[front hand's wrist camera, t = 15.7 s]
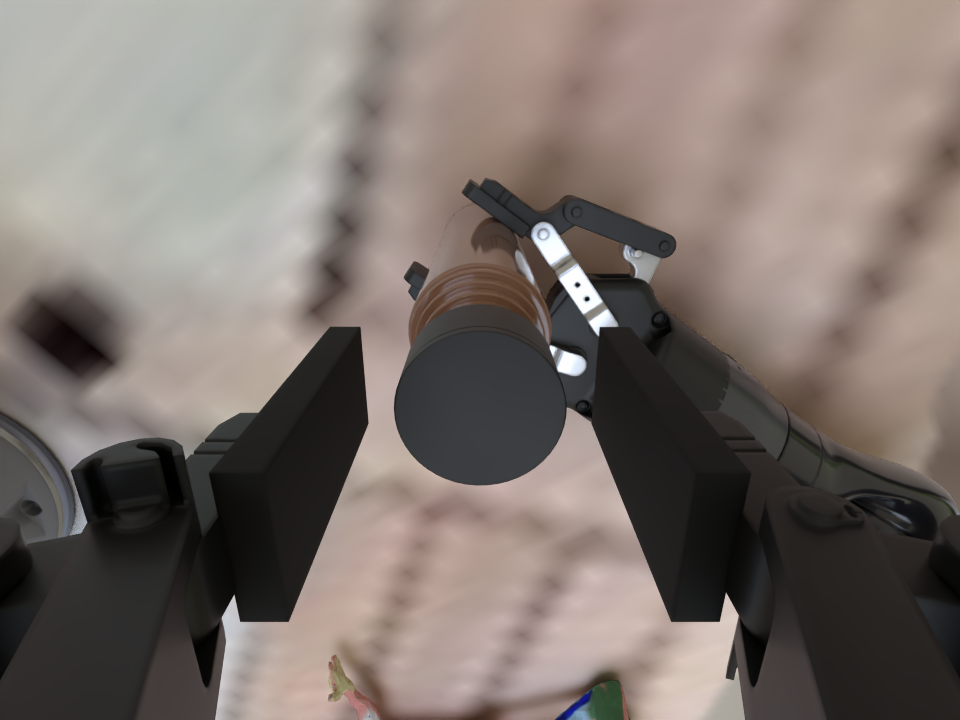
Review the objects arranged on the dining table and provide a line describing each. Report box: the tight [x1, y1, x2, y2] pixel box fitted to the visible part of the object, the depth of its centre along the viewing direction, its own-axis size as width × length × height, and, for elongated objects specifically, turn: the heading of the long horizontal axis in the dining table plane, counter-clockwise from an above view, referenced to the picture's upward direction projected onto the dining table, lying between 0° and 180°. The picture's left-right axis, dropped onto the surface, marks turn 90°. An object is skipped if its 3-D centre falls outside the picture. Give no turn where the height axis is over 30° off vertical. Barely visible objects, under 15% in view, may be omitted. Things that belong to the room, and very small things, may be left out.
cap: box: [394, 304, 567, 485], centre depth 13 cm, size 4×4×2 cm
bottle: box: [409, 204, 552, 348], centre depth 23 cm, size 4×4×23 cm
